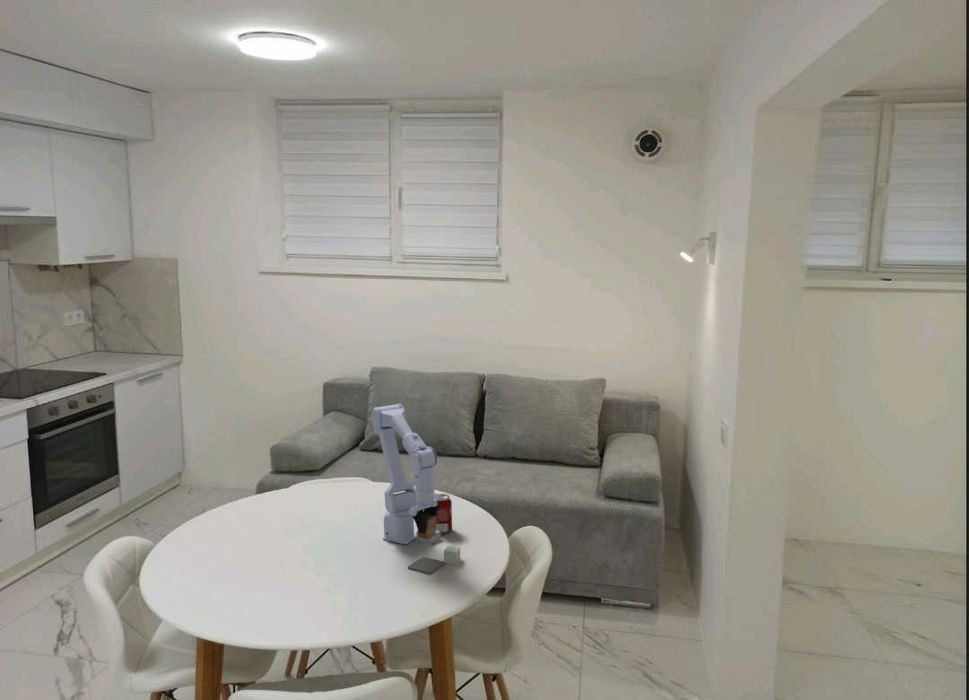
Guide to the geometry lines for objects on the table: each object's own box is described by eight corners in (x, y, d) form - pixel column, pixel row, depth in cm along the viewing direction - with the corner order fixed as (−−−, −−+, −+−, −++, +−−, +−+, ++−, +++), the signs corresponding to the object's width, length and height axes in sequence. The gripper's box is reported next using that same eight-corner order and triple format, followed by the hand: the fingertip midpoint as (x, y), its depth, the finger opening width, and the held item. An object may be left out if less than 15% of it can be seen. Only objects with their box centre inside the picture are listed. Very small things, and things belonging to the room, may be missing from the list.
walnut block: (417, 536, 228) (417, 518, 227) (424, 532, 231) (424, 513, 230) (428, 539, 226) (428, 520, 225) (435, 534, 230) (435, 516, 229)
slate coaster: (407, 568, 222) (407, 566, 222) (423, 558, 228) (422, 556, 228) (430, 574, 218) (430, 572, 218) (444, 563, 225) (444, 561, 224)
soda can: (449, 535, 245) (448, 501, 243) (429, 534, 246) (428, 499, 244) (454, 527, 251) (453, 493, 249) (435, 526, 252) (434, 492, 250)
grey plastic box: (416, 540, 242) (416, 531, 241) (426, 535, 246) (426, 526, 245) (430, 545, 238) (430, 536, 238) (440, 540, 242) (440, 531, 242)
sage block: (443, 563, 225) (443, 551, 224) (447, 557, 229) (447, 545, 228) (456, 565, 224) (456, 552, 223) (460, 559, 228) (460, 547, 227)
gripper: (422, 497, 218) (423, 541, 220) (448, 482, 231) (449, 524, 233) (402, 493, 222) (404, 536, 224) (429, 479, 234) (430, 520, 236)
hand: (426, 530), depth 229 cm, fingers closed on walnut block, 4 cm apart
